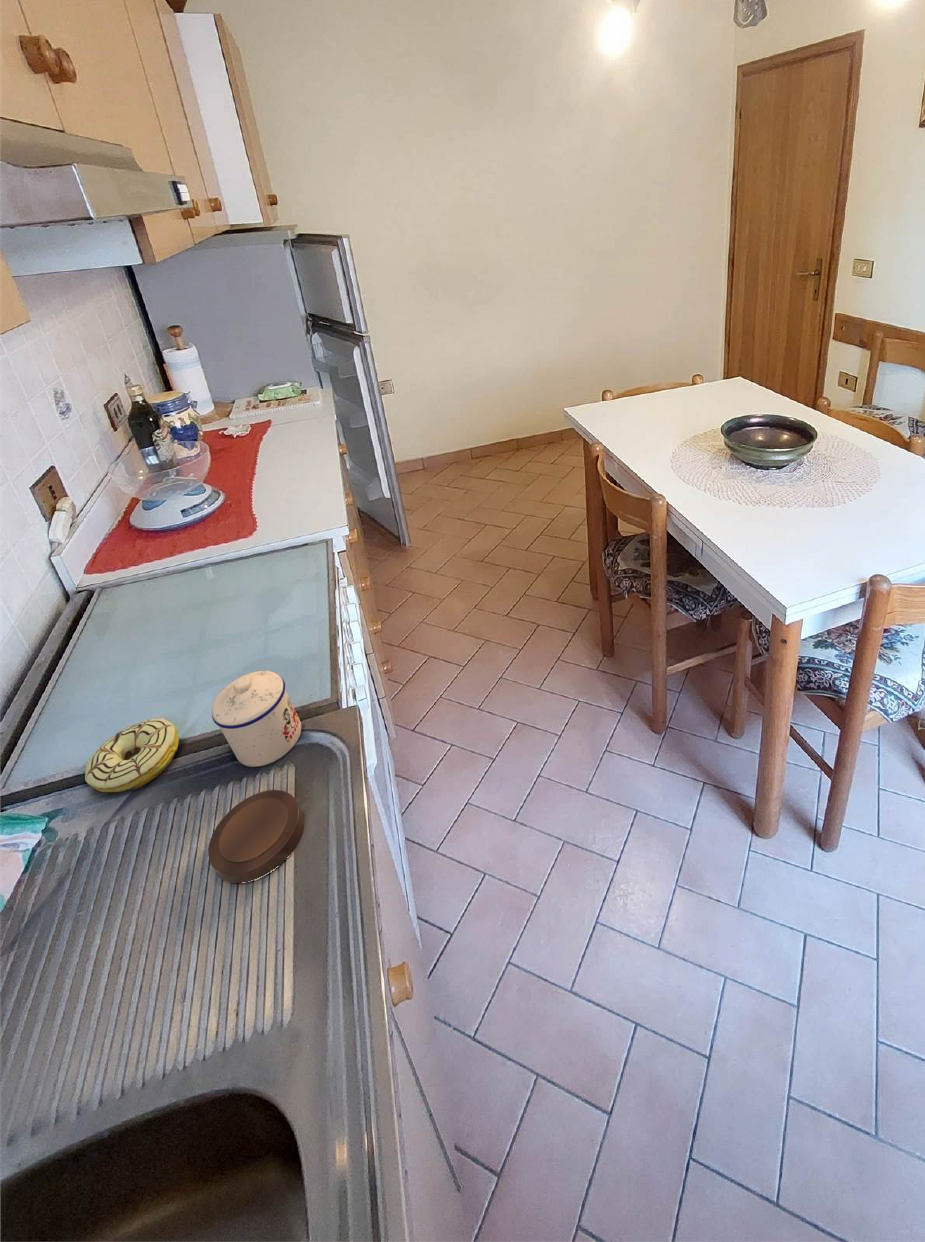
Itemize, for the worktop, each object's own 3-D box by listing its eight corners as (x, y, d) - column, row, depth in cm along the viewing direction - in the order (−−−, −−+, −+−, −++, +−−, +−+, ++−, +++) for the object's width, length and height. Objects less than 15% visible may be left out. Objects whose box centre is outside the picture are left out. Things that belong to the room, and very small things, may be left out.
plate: (196, 882, 71) (188, 871, 70) (245, 799, 79) (238, 788, 78) (278, 886, 70) (271, 874, 68) (318, 801, 78) (312, 789, 77)
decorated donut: (127, 733, 90) (115, 716, 89) (198, 729, 90) (187, 711, 88) (75, 802, 81) (61, 784, 79) (154, 797, 81) (142, 779, 79)
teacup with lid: (307, 749, 85) (279, 691, 80) (235, 781, 82) (201, 722, 76) (298, 690, 95) (273, 634, 89) (234, 717, 91) (203, 660, 86)
